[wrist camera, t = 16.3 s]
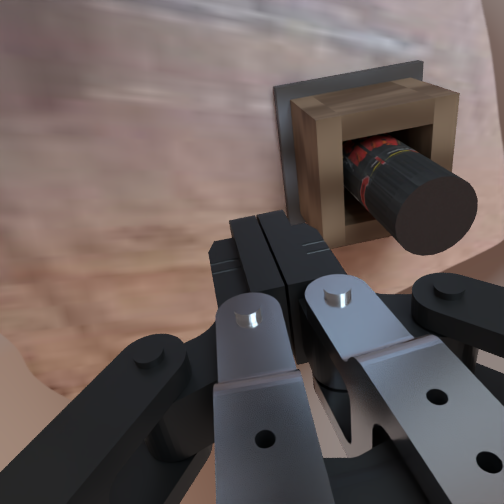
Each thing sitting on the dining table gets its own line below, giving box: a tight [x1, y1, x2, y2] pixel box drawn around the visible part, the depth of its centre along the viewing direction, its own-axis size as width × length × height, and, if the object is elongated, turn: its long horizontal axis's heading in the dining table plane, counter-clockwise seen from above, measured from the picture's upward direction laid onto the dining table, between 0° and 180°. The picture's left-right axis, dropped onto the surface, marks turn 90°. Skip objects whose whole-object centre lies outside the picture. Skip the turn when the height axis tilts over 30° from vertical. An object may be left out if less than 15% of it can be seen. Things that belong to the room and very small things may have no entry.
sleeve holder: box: [274, 60, 460, 249], centre depth 41 cm, size 14×14×9 cm
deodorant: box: [342, 133, 478, 256], centre depth 36 cm, size 6×6×15 cm
